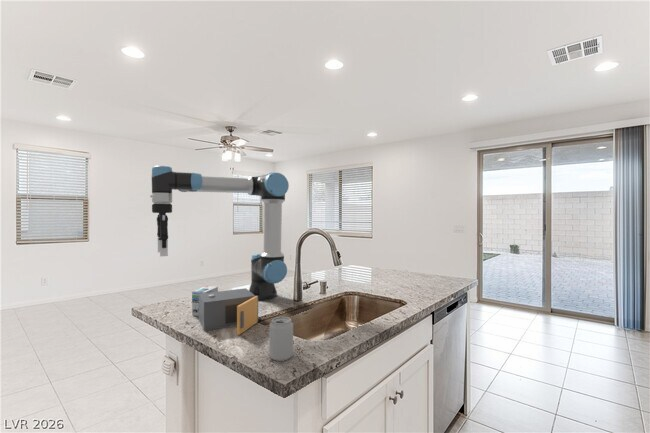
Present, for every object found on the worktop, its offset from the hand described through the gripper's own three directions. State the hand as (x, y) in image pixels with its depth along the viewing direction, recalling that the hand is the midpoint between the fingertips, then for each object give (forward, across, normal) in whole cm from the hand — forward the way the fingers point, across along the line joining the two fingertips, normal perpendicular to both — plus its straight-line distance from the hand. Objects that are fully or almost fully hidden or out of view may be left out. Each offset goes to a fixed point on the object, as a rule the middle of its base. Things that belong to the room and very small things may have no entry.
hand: (162, 254), depth 132 cm
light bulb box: (+28, -1, +17) cm, 33 cm away
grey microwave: (+28, +15, +22) cm, 39 cm away
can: (+28, +57, +29) cm, 70 cm away
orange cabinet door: (+27, +29, +28) cm, 48 cm away
